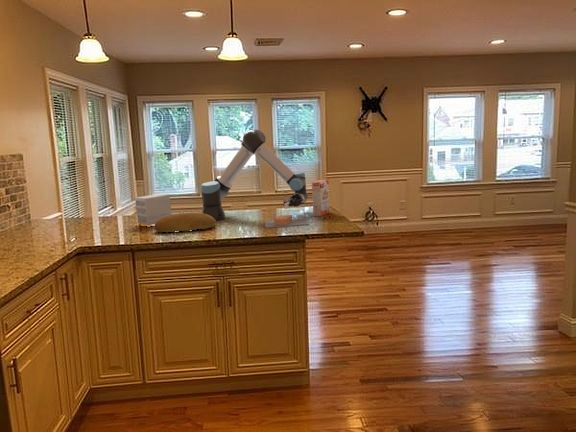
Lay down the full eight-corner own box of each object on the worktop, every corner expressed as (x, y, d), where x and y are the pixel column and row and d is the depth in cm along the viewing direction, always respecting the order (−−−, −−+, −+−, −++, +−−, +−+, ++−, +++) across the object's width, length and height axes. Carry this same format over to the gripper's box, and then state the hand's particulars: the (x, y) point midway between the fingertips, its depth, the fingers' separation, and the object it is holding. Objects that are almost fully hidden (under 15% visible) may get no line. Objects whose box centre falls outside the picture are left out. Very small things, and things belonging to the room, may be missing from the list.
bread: (215, 230, 265) (214, 212, 263) (152, 235, 262) (150, 217, 260) (217, 224, 283) (216, 208, 281) (158, 229, 280) (156, 212, 278)
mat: (265, 228, 260) (265, 227, 260) (265, 221, 279) (265, 220, 279) (308, 225, 261) (308, 223, 261) (305, 219, 280) (305, 218, 280)
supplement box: (162, 221, 307) (159, 193, 304) (173, 222, 298) (170, 194, 295) (137, 225, 295) (134, 197, 292) (148, 227, 286) (144, 198, 283)
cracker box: (322, 216, 284) (320, 182, 281) (313, 216, 287) (311, 182, 283) (330, 212, 297) (328, 179, 293) (321, 212, 299) (319, 179, 296)
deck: (280, 215, 275) (273, 219, 264) (292, 215, 273) (285, 218, 262) (280, 221, 275) (274, 225, 264) (292, 220, 273) (286, 225, 262)
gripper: (307, 205, 292) (297, 212, 270) (287, 205, 296) (275, 212, 274) (306, 193, 291) (296, 199, 269) (286, 194, 295) (274, 199, 273)
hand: (285, 206), depth 271 cm, fingers closed
